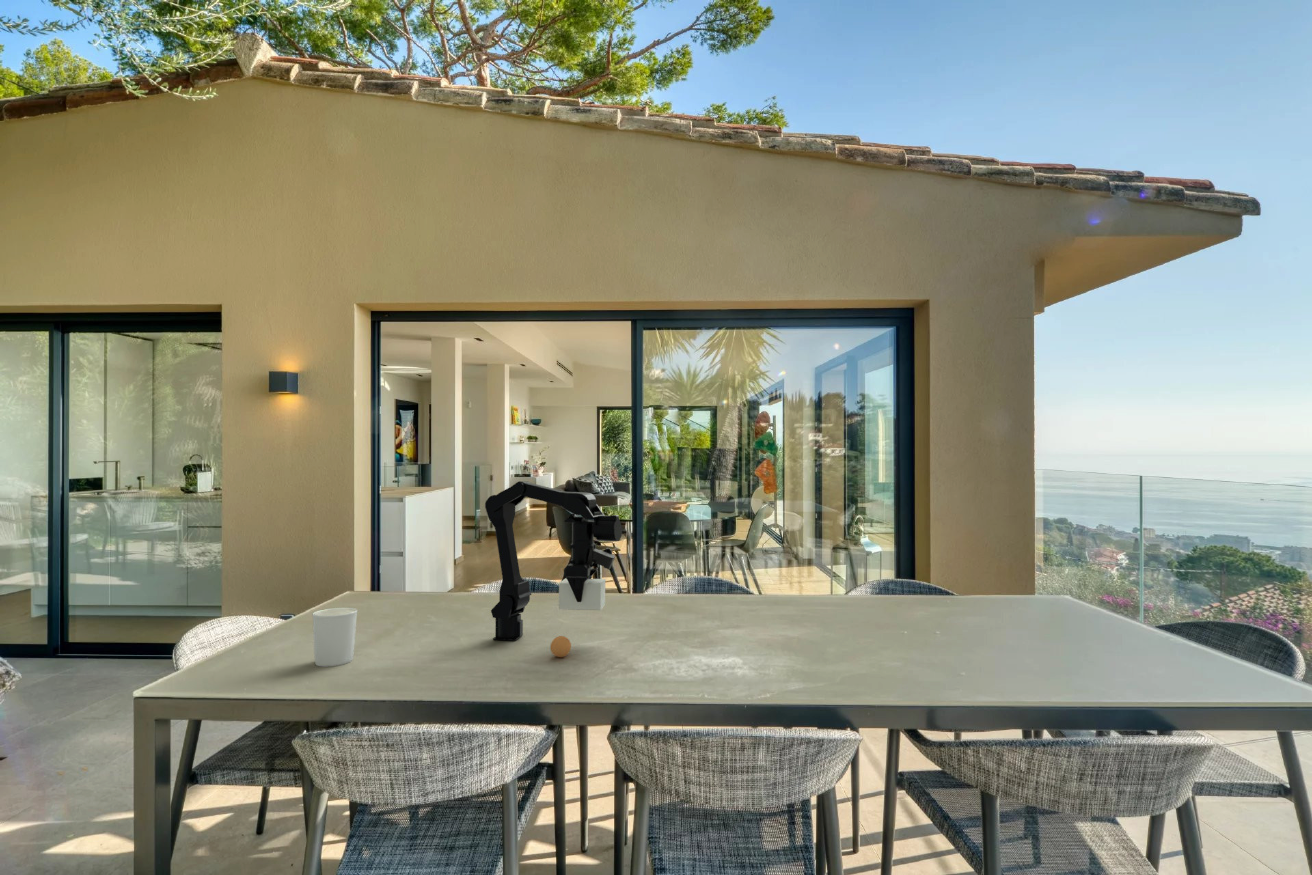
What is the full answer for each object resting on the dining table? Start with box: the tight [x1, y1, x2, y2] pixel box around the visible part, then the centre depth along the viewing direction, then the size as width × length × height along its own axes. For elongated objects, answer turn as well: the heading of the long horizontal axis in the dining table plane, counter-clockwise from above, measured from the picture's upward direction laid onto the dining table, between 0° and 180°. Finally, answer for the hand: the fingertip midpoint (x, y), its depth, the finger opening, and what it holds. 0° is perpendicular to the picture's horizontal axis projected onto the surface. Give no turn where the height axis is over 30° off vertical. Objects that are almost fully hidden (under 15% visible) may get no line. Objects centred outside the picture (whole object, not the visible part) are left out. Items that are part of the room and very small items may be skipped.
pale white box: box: [558, 577, 606, 611], centre depth 172 cm, size 11×8×7 cm
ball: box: [550, 635, 572, 658], centre depth 160 cm, size 5×5×5 cm
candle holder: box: [312, 607, 358, 668], centre depth 157 cm, size 10×10×12 cm
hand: (582, 598), depth 172 cm, fingers closed on pale white box, 7 cm apart
